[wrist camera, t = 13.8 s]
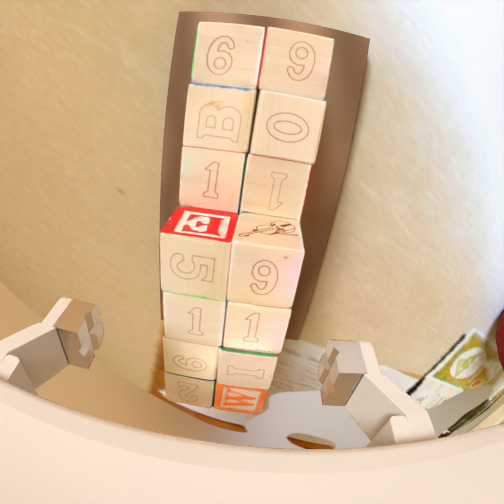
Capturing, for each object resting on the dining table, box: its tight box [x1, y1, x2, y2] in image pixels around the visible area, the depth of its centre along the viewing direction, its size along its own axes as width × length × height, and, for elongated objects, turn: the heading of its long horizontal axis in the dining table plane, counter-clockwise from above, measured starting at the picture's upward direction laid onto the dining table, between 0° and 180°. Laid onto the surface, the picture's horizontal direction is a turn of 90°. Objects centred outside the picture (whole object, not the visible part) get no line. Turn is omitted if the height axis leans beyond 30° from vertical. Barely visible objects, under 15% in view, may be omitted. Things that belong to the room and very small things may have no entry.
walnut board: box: [160, 12, 370, 340], centre depth 25 cm, size 14×28×2 cm, turn 172°
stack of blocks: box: [160, 22, 335, 414], centre depth 19 cm, size 21×6×12 cm, turn 171°
